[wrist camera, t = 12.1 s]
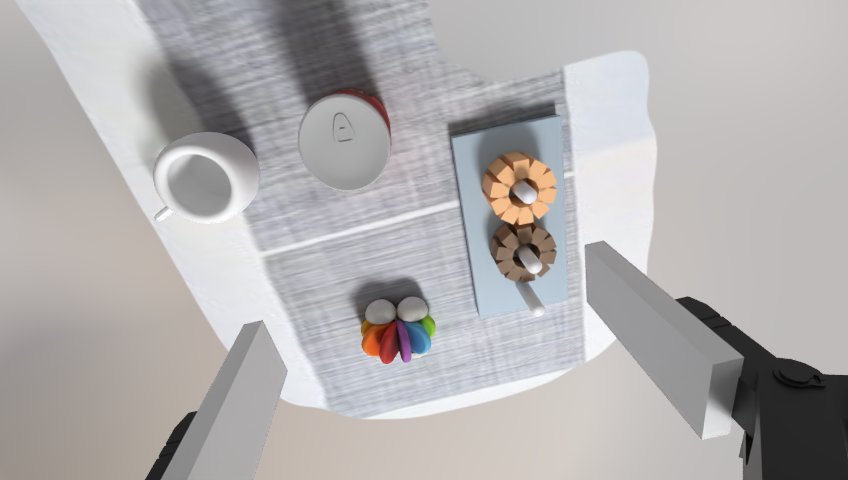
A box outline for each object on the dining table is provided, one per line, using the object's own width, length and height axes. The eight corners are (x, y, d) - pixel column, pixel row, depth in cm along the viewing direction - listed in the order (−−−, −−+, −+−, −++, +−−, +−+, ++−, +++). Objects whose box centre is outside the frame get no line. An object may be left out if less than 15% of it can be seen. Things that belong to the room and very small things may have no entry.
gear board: (450, 136, 43) (462, 149, 36) (555, 114, 43) (587, 122, 36) (477, 312, 53) (491, 348, 46) (563, 294, 53) (589, 327, 46)
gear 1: (478, 159, 43) (486, 167, 39) (541, 146, 43) (555, 153, 39) (485, 217, 46) (494, 230, 42) (544, 204, 46) (558, 216, 42)
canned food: (370, 74, 40) (364, 77, 30) (402, 146, 43) (407, 170, 33) (304, 106, 40) (276, 119, 30) (340, 174, 44) (327, 206, 34)
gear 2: (486, 224, 46) (492, 234, 43) (545, 212, 46) (555, 221, 43) (493, 275, 49) (499, 287, 46) (548, 263, 49) (558, 275, 46)
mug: (228, 109, 40) (193, 117, 33) (285, 174, 43) (265, 195, 36) (146, 176, 42) (97, 198, 35) (207, 233, 45) (173, 264, 38)
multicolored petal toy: (358, 296, 50) (353, 330, 44) (432, 290, 51) (438, 323, 44) (365, 348, 54) (362, 387, 47) (434, 341, 55) (441, 379, 48)
